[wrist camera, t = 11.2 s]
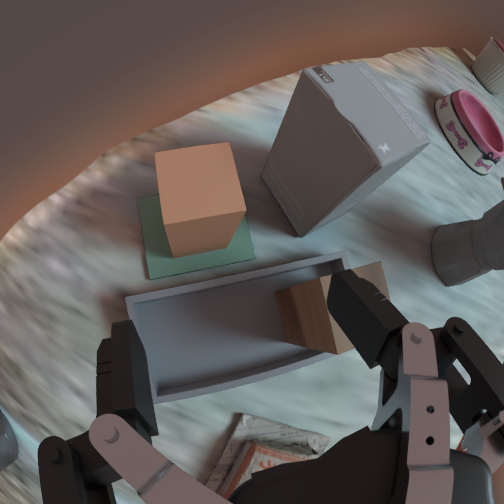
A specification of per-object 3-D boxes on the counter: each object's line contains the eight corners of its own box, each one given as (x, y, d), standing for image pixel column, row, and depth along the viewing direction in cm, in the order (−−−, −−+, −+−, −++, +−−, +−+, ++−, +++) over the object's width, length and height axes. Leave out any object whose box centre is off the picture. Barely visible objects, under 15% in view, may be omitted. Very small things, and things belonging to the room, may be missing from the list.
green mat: (150, 280, 25) (150, 279, 25) (138, 200, 27) (138, 198, 26) (254, 259, 28) (255, 258, 27) (235, 183, 29) (236, 181, 28)
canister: (461, 64, 55) (496, 29, 35) (468, 58, 61) (499, 29, 40) (497, 108, 55) (536, 78, 35) (500, 96, 60) (533, 70, 40)
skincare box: (342, 215, 31) (441, 145, 16) (292, 243, 29) (387, 172, 14) (303, 153, 32) (372, 57, 16) (251, 174, 30) (303, 62, 14)
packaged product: (269, 562, 16) (181, 550, 15) (259, 540, 20) (180, 525, 20) (347, 447, 21) (251, 426, 20) (325, 432, 26) (241, 408, 25)
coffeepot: (416, 272, 32) (538, 236, 14) (422, 208, 34) (522, 153, 17) (476, 303, 33) (570, 285, 16) (480, 248, 36) (564, 217, 19)
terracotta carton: (173, 258, 26) (163, 225, 16) (165, 208, 26) (154, 152, 17) (226, 248, 27) (246, 210, 17) (215, 199, 28) (229, 141, 18)
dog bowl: (451, 163, 39) (477, 146, 32) (422, 87, 43) (440, 69, 36) (496, 184, 43) (518, 172, 36) (471, 115, 47) (488, 102, 40)
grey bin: (156, 394, 23) (152, 404, 20) (132, 299, 24) (124, 297, 22) (351, 340, 28) (367, 342, 25) (331, 256, 29) (345, 250, 27)
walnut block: (286, 342, 26) (337, 354, 16) (274, 291, 27) (319, 277, 17) (332, 328, 27) (396, 329, 18) (321, 280, 28) (380, 260, 18)
